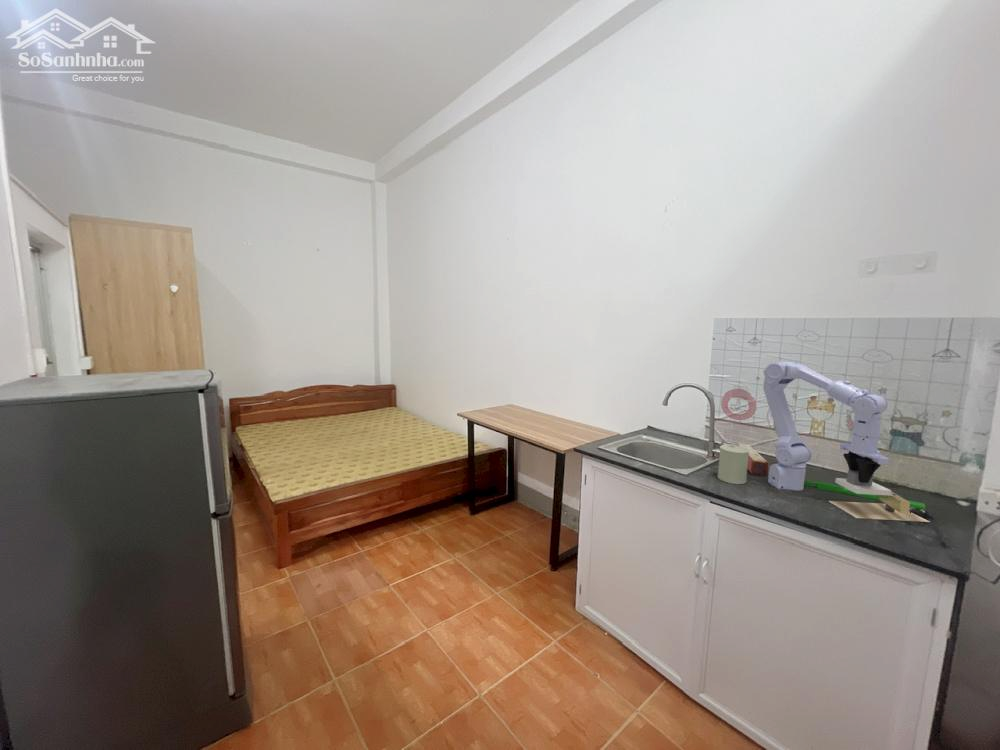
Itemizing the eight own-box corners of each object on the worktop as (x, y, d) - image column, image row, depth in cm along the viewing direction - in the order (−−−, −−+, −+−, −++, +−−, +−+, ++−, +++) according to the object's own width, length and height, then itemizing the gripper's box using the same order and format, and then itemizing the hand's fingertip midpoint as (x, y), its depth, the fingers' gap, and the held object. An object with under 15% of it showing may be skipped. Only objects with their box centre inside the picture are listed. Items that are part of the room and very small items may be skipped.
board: (855, 522, 111) (857, 512, 110) (827, 505, 121) (828, 495, 121) (929, 526, 109) (931, 516, 108) (893, 508, 120) (895, 498, 119)
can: (741, 475, 145) (743, 444, 144) (750, 485, 137) (754, 452, 135) (714, 473, 147) (716, 442, 146) (721, 482, 139) (724, 450, 137)
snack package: (769, 477, 145) (771, 460, 144) (749, 475, 146) (750, 458, 146) (750, 459, 165) (752, 443, 164) (733, 457, 167) (734, 442, 166)
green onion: (920, 511, 119) (797, 484, 136) (922, 501, 119) (799, 475, 135) (925, 517, 115) (798, 489, 132) (927, 507, 115) (800, 480, 132)
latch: (876, 496, 120) (877, 485, 119) (884, 497, 119) (885, 486, 119) (899, 512, 109) (901, 500, 109) (908, 513, 109) (910, 501, 108)
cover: (856, 493, 112) (858, 476, 111) (835, 482, 119) (837, 466, 119) (890, 495, 111) (893, 478, 110) (866, 484, 119) (869, 468, 118)
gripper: (903, 443, 106) (896, 491, 107) (859, 429, 120) (854, 471, 122) (875, 442, 106) (869, 489, 108) (835, 428, 121) (830, 470, 122)
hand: (859, 480), depth 115 cm, fingers closed on cover, 2 cm apart
